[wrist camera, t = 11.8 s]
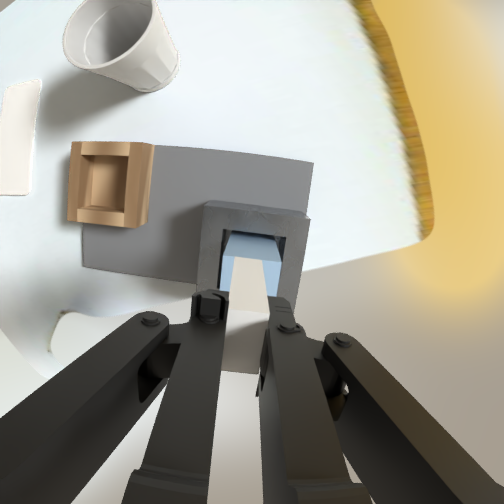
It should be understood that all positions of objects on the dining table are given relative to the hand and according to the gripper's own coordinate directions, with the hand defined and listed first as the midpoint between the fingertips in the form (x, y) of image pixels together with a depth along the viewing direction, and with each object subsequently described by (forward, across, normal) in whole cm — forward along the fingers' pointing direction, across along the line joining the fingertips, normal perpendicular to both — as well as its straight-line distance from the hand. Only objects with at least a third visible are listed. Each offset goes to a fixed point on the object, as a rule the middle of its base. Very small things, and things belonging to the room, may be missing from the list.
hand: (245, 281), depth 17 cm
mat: (+16, -6, 0) cm, 17 cm away
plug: (+14, +1, -2) cm, 14 cm away
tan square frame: (+15, -14, +3) cm, 21 cm away
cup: (+16, -12, +16) cm, 26 cm away
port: (+15, +1, -2) cm, 15 cm away
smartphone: (+17, -31, +8) cm, 36 cm away
